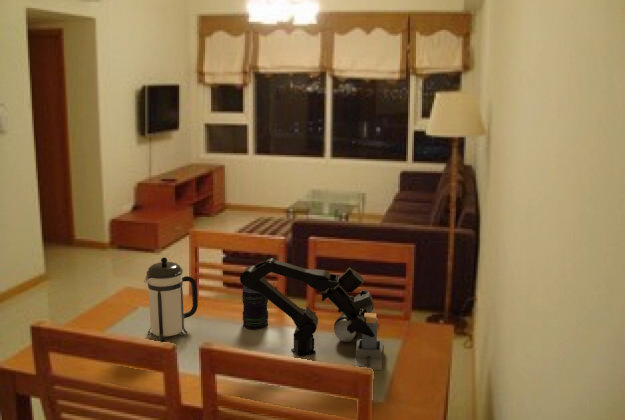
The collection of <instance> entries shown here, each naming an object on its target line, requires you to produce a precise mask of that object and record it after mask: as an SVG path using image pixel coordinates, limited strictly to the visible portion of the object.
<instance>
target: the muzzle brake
mask: <svg viewBox="0 0 625 420" xmlns="http://www.w3.org/2000/svg"><path fill="white" fill-rule="evenodd" d="M358 296H360V293H358V294H357V295H354V296H353V297H354V298H356V297H358ZM365 308H366V307H364V308H362V309H363V310H364V309H365ZM374 309H375V303H374V301H373V305H371V306H367V313H373V311H374ZM350 320H351V319H350ZM350 320H349V321H350ZM349 321H347V320H346V316H345V315H344V314H343V313H342V312H341V314H340V315H339V316H338V318H337V319H336V320H335V322H334V323H333V330H334V332H333V333H334V335H335V337H336V338H337V339H338V340H339V341H340V342H342V343H343V342H344V343H349V342H352V341H354V340H357V339H358V336H360V333H359V332H353V333H352V334H350V333H349V332H348V331H347V324H348V322H349Z"/></svg>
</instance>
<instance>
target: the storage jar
mask: <svg viewBox="0 0 625 420" xmlns="http://www.w3.org/2000/svg"><path fill="white" fill-rule="evenodd" d="M241 289H242V295H241V297H242V298H241V299H242V306H243V311H242V322H243V323H242V324H243V328H245V329H247V330H250V331H251V330H252V331H258V330H263V329H266V328H267V327H268V326H269V310H268V303H269V300H268V299H267V298H266V297H265V296H263V295H262V294H261V293H259V292H256V291H253V290H250V289H249V288H247V287H245V286H243V287H242V288H241Z"/></svg>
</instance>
